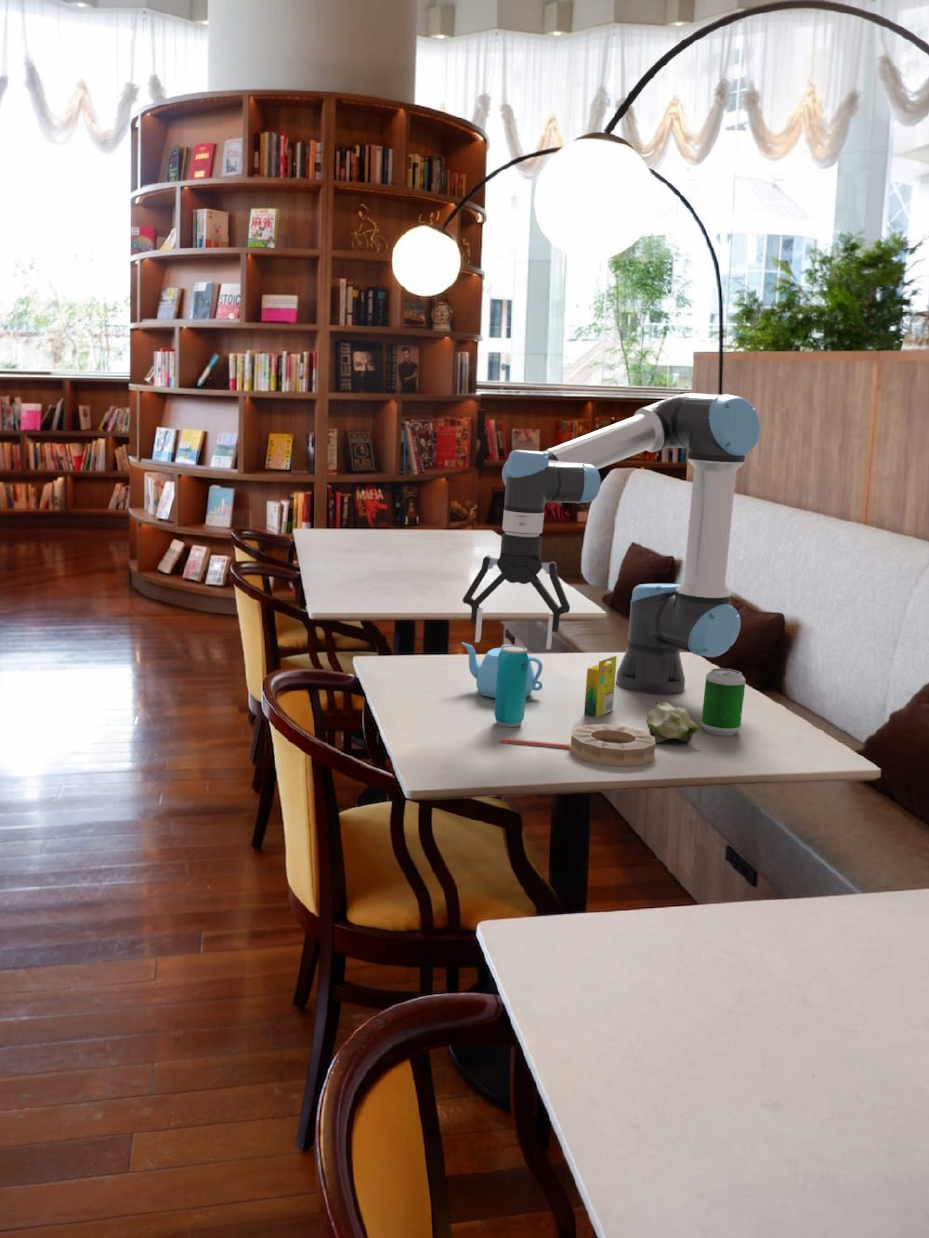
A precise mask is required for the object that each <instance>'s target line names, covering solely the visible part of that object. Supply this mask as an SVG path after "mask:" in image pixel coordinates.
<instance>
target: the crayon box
mask: <svg viewBox="0 0 929 1238" xmlns="http://www.w3.org/2000/svg"><path fill="white" fill-rule="evenodd" d="M608 662H609V663H608ZM610 662H611V663H610ZM616 670H617V655H615V656H611V657H608V658H606V659H605V658H604V659H602V660H599V661H598V664H597V665H593V666H591V667H588V668H587V670H586V671H587V672H586V683H585V684H586V686H585V697H584V710H583V711H584V713H583V714H584V716H587V717H592V718H595V719H596V718H598V717H600V716H603V715H605V714H607V713H610V712H613V711H614V699H615V687H616V674H617V671H616Z"/></svg>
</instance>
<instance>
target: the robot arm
mask: <svg viewBox="0 0 929 1238" xmlns="http://www.w3.org/2000/svg"><path fill="white" fill-rule="evenodd" d="M760 434H761V423H760V417H759V414H758V412H757V410H756V408H754V406H753V404H752V403H751V402H750V401H749V400H748V399H747V398H744V397H741V396H737V395H733V394H732V395H731V394H728V393H726V394H716V393H715V394H714V393H699V392H698V393H697V392H685V393H681V394H677V395H676V394H675V395H673V396H671V397H667V398H664V399H662V400H659V401H657V402H654V403H652V404H649V405H646V406H644V407H643V406H642V407H640V408H638V409H637V410H636V411H635V412H634V414H633V416H631V417H628V418H625V419H624V420H621V421H618V422H616V423H613V424H611V425H608V426H605V427H602V428H600V429H597V430H594V431H592V432H589V433H587V434H584V435H582V436H579V437H577V438H574V439H572V440H569V441H566V442H563V443H560V444H558V445H555V446H554V447H550V448H547V449H546V450H542V451H538V450H527V449H526V450H524V449H515V450H512V451H510V453H509V454H508V459H507V460H506V462H505V463H504V464H503V467H502V470H501V471H502V472H501V477H502V483H503V484H504V486H505V488H504V489H505V490H504V491H505V492H504V506H503V516H502V517H503V518H502V527H501V528H502V530H503V532H504V533H503V534H501V540H500V541H501V542H500V553H499V557H498V558H497V557H491V556H490V555H489V554H488V555H485V556H484V558H483V559H482V564H481V567H480V570H479V572H478V573H477V575H476V577H475V578H474V580H473V581H472V583H471V584H470V586H469V588H468V589H467V592H466V593H465V595H464V597H463V598H462V602H463V604H466V605H468V606H470V608H471V613H470V623H471V624H473V625H475V637H474V638H475V639H474V643H480V641H481V638H482V623H483V611H484V606H482V605H481V604H482V602H484V601H485V600H486V599H487V598H488V597H489V596H490V595H491V594H492V593H493V592H494V591H495V590H496V589H497V588H498V587H499V586H500V585H501V584H502V583H503V582H504V581H505V580H506V582H509V583H510V584H516V583H518V584H521V585H526V584H531V585H532V587H534V588H535V590H536V591H537V593H538V595H540V597H541V598H542V599H543V601H544V603H545V604H546V605H547V607H548V608H549V609H550V611H551V612H549V614H548V615H549V616H548V626H547V636H546V645H545V646H546V648H545V649H546V650H551V649H552V641H553V640H552V639H553V632H556V633H557V632H558V631H559V629H560V628H559V627H560V626H559V625H560V618H561V615H562V614H568V613H569V612H570V611H571V606H570V604H569V601H568V599H567V595H566V593H565V590H564V589H563V586H562V583H561V581H560V579H559V576H558V574H557V563H556V561H554V560H551V561H550V562H542V561H541V552H542V539H543V538H542V537H541V536H540V534H542V533H543V529H544V517H545V505H546V503H570V504H572V503H574V504H577V505H579V504H582V503H590V502H593V501H594V500H595V499H596V498H597V497H598V495H599V493H600V490H601V482H602V481H601V474H600V473H599V471H598V470H599V469H602V468H605V467H608V466H609V465H612V464H615V463H618V462H620V461H623V460H625V459H627V458H630V457H632V456H633V457H634V456H636V455H637V454H640V453H643V452H645V451H647V452H649V453H656V452H658V451H661V450H664V449H675V448H676V449H678V448H679V449H687V456H686V457H687V458H686V460H687V461H688V462H689V463H690V465H691V466H692V467H693V473H692V474H693V475H692V487H691V497H690V498H691V499H690V508H689V509H690V510H689V520H688V531H687V542H686V552H685V565H684V566H685V567H684V576H683V582H682V583H643V584H641V583H640V584H637V585H636V586H635V587H633V590H632V594H631V595H632V596H631V600H630V602H629V604H630V609H629V620H628V634H627V645H626V647H627V648H626V650H625V653H624V655H623V658H622V661H621V663H620V664H619V667H618V670H617V671H616V678H615V684H617V685H618V686H620V687H622V688H625V689H627V690H629V691H630V690H631V691H635V692H641V693H646V694H647V693H648V694H662V695H663V694H665V695H666V694H675V693H676V694H677V693H680V692H682V691H684V689H685V683H686V677H685V674H684V673H685V672H684V669H683V664H682V659H681V655H680V652H681V650H683V651H687V652H690V653H692V654H693V655H696V656H703V657H707V658H717V657H719V656H721V655H723V654H724V653H726V652H727V651H728V650H729V649H730V648H731V647H732V646H733V645H734V644H735V642H736V641H737V638H738V636H739V634H740V631H741V624H742V623H741V615H740V614H739V613H738V610H737V609H736V608H735V607H733V605H731V603H732V594H733V593H732V591H731V590H730V589H729V588H728V587H727V586H726V580H727V579H726V578H727V569H728V568H727V567H728V560H729V559H728V558H729V549H730V548H729V547H730V537H731V527H732V518H733V517H732V516H733V506H734V496H735V486H736V475H737V471H738V470H739V468H741V467H742V466H743V465H745V461H746V454H748V453H750V452H752V450H753V449H754V448H755V445H757V444H758V442H759V439H760ZM494 566H497V568H498V569H499V570H500V572H501V573H500V574H499V575H498V576H497V577H496V578H495V579H493V581H492V582H491V583H490V584H489V585H487V587H486V588H485V589H483V591H482V592H481V593H480V594H479V595H478V596H476V598H473V596H474V594H475V593H476V591H477V590H478V587H479V586H480V584H481V582H482V581H483V579H484V577H485V576H486V574H487V573H488V570H490V569H493V568H494ZM542 569H543V570H544V571H545V572H544V573H545V574H547V575H549V578H550V581H551V584H552V586H553V589H554V591H555V593H556V596H557V598H558V601H559V604H560V606H559V605H558V604H557V602H556V601H555V600H554V598H553V596H552V595H551V594H550V593H549V591H548V590H547V589H546V587H545V586H544V584H543V583H542V581H541V580H540V578H539V577H538V576H537V575H538V574H539V572H540V571H541V570H542Z"/></svg>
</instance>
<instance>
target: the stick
mask: <svg viewBox="0 0 929 1238" xmlns="http://www.w3.org/2000/svg"><path fill="white" fill-rule="evenodd" d="M500 743H503V744H504V743H506V744H515V745H524V746H525V745H526V746H534V747H535V746H536V747H546V748H555V749H557V748H558V749H565V750H570V748H571V743H570V744H569V743H568V744H567V743H559V742H558V743H557V742H547V741H538V740H526V739H519V738H518V739H516V738H509V737H507V738H506V737H505V738H504V737H501V738H500Z"/></svg>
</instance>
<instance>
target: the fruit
mask: <svg viewBox="0 0 929 1238" xmlns="http://www.w3.org/2000/svg"><path fill="white" fill-rule="evenodd" d="M690 713H691V712H690V711H689V710H688V708H682V707H681V706H676V707H674V706H673V705H671V704H670V703H668V702H666V701H663V702H661V703H658V702H655V707H653V708H652V709H651V710H650V711H649V712H648V713H647V717H646V724H647V727H648V729H649V732H650V733H649V734H650V735H651V736H653V737H655V744H657V743H660V742H664V741H667V740H670V739H671V740H672V739H678V740H680V741H682V742H687V743H689V742H690V741H691V740H692V738H693V735H694V734H695V733H697V731H698V729H699V725H697V724H696V723H695V722H694V721H692V720H691V718H690Z"/></svg>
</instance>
